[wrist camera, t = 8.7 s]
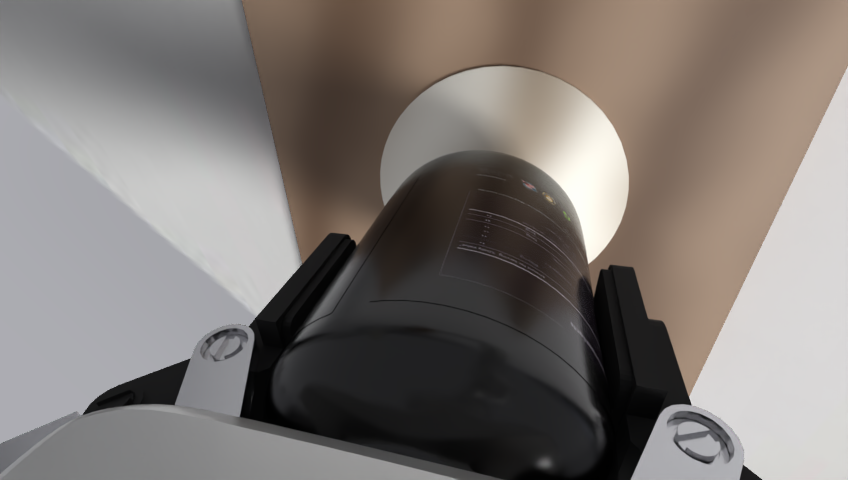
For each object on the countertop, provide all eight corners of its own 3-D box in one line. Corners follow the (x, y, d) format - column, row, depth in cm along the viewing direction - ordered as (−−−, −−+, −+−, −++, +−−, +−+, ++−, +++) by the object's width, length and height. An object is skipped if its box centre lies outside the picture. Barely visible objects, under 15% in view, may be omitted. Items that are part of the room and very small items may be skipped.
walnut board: (910, -145, 11) (963, -163, 9) (681, 372, 21) (689, 399, 20) (246, -89, 15) (216, -95, 14) (328, 313, 26) (316, 333, 25)
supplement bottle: (497, 336, 17) (423, 819, 7) (360, 240, 16) (71, 639, 6) (633, 229, 13) (867, 952, 3) (463, 96, 12) (128, 544, 3)
